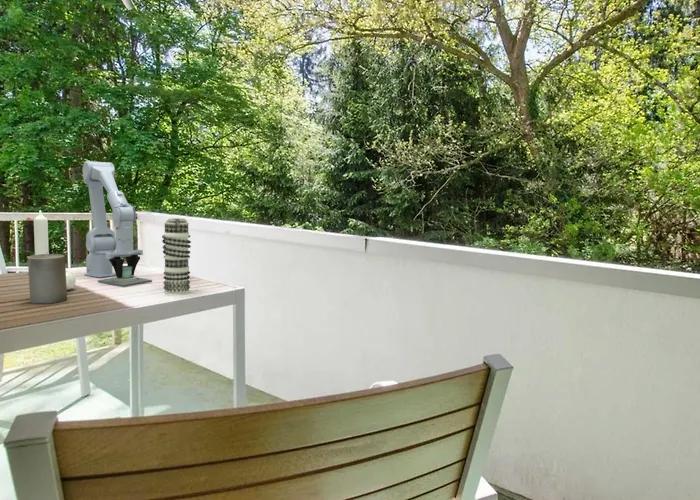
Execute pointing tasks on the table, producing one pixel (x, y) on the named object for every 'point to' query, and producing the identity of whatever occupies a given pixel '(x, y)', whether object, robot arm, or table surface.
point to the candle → (41, 234)
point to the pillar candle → (47, 278)
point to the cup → (126, 272)
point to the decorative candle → (176, 256)
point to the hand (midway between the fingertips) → (125, 276)
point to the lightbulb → (70, 280)
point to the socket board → (124, 281)
